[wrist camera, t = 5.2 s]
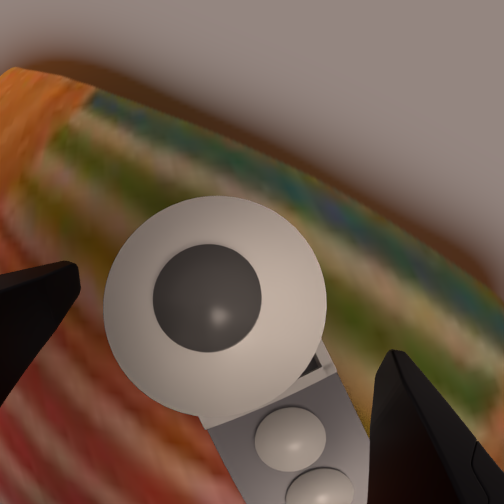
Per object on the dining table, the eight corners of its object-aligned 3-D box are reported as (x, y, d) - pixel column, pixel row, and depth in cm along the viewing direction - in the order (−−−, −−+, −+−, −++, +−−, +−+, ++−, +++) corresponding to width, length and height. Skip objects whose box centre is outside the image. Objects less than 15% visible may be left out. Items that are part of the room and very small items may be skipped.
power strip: (389, 495, 12) (406, 511, 10) (280, 545, 11) (281, 567, 9) (275, 261, 17) (276, 243, 15) (164, 310, 16) (148, 300, 14)
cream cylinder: (218, 402, 13) (144, 448, 5) (182, 317, 15) (78, 243, 6) (307, 363, 14) (370, 352, 5) (266, 279, 15) (263, 159, 7)
